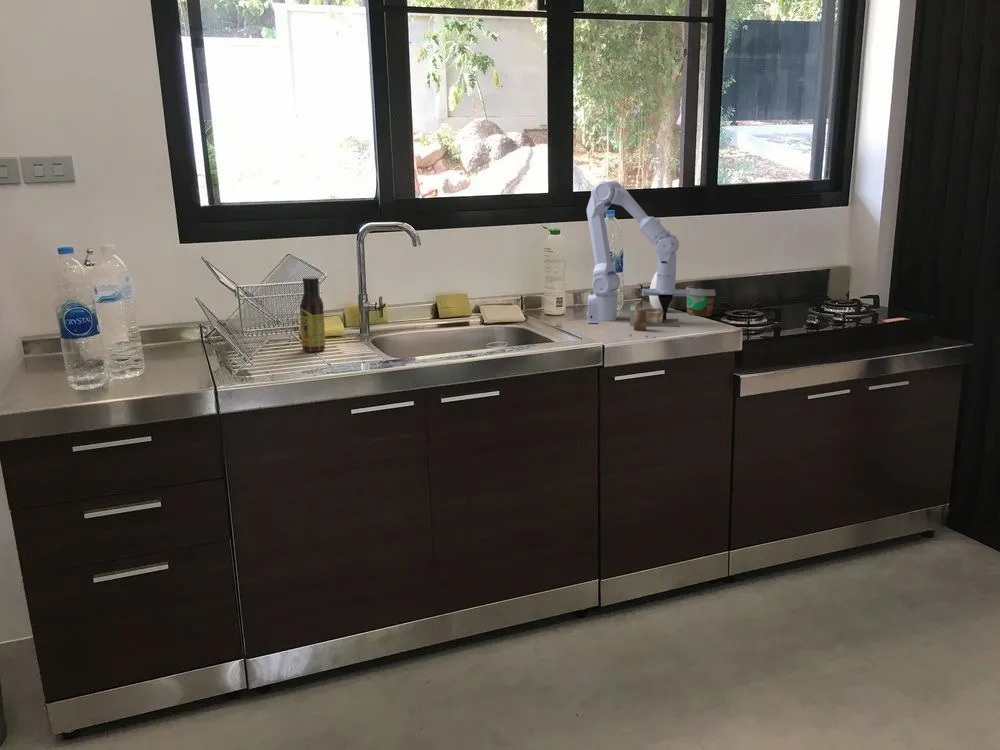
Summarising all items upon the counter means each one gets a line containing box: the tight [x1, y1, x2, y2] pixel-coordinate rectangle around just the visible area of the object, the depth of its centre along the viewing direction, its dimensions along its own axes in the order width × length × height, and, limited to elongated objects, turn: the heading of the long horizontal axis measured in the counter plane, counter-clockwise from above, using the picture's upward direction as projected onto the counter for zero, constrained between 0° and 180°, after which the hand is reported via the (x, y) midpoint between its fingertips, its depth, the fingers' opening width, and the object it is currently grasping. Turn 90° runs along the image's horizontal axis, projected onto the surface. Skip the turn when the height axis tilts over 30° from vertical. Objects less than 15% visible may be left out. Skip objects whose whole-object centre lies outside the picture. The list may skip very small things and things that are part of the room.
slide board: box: [629, 303, 680, 328], centre depth 258 cm, size 15×12×6 cm
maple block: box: [635, 307, 663, 324], centre depth 258 cm, size 8×8×4 cm
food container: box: [685, 284, 717, 317], centre depth 274 cm, size 12×6×10 cm, turn 25°
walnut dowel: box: [633, 309, 647, 332], centre depth 247 cm, size 4×4×7 cm
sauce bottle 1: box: [299, 276, 326, 353], centre depth 222 cm, size 6×6×20 cm
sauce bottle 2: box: [648, 271, 673, 310], centre depth 284 cm, size 8×8×18 cm
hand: (664, 319), depth 258 cm, fingers closed
